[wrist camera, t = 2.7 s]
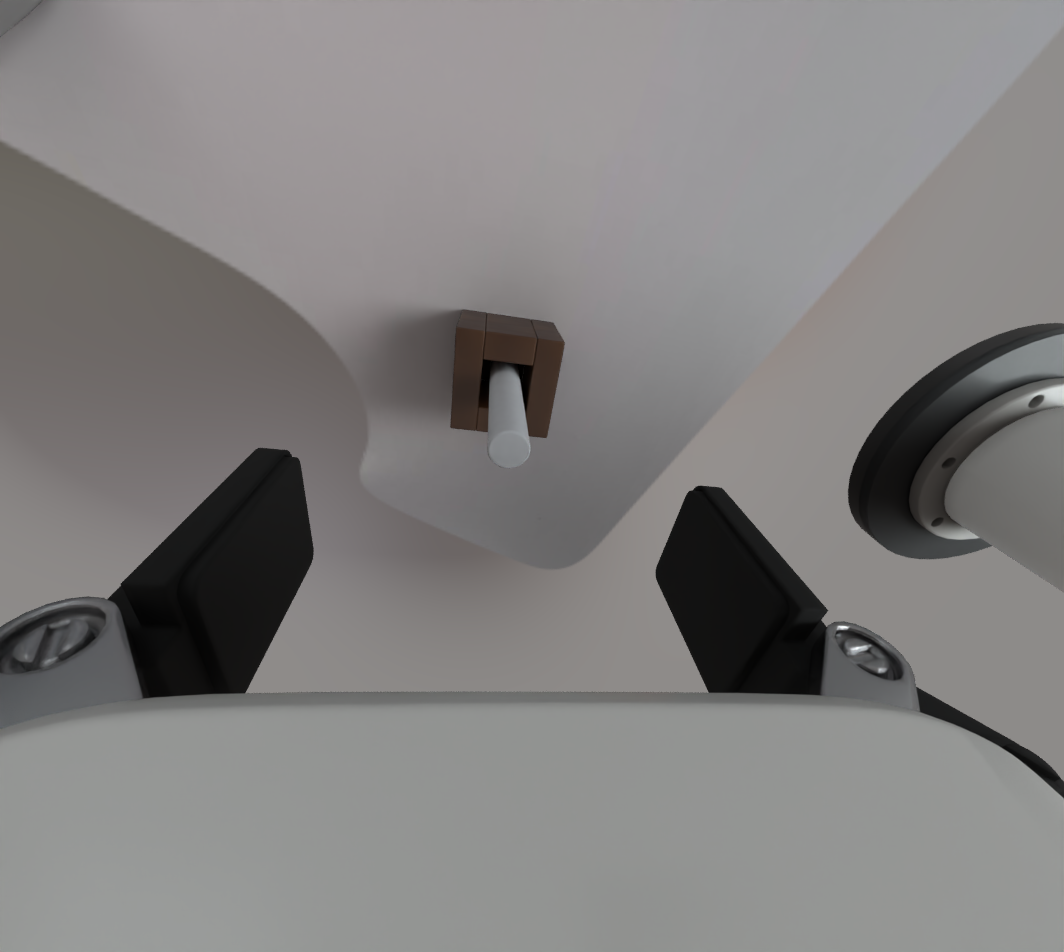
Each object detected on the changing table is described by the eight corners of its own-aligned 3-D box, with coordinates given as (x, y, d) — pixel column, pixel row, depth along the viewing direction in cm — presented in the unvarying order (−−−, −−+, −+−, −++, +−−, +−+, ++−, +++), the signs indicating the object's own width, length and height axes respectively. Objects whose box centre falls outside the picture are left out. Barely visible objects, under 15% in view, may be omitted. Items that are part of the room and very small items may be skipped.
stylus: (518, 349, 22) (533, 433, 13) (515, 375, 22) (527, 471, 14) (491, 346, 21) (489, 428, 13) (488, 372, 22) (485, 467, 14)
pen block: (553, 322, 21) (565, 342, 18) (539, 406, 23) (546, 438, 20) (462, 309, 20) (455, 326, 17) (456, 397, 23) (450, 428, 19)
